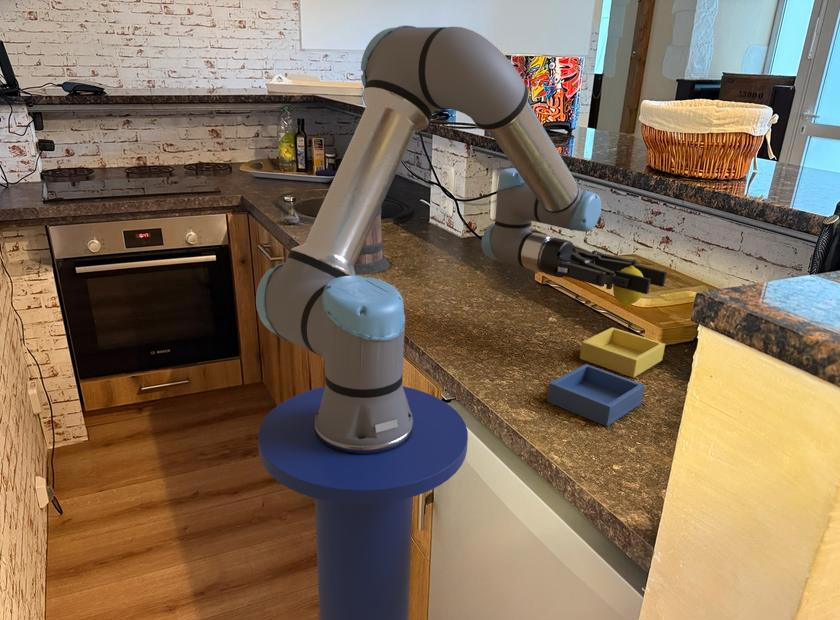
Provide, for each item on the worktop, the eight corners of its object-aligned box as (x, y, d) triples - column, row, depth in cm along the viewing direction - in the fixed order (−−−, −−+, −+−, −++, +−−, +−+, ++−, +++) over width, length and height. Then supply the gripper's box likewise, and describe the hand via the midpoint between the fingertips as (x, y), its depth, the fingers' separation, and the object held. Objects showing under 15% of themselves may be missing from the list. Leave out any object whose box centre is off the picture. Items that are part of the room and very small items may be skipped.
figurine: (282, 225, 224) (281, 207, 222) (284, 222, 228) (283, 204, 226) (299, 225, 225) (298, 207, 222) (299, 222, 229) (299, 204, 226)
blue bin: (546, 401, 116) (549, 382, 115) (582, 381, 124) (585, 363, 123) (606, 426, 109) (610, 407, 108) (641, 403, 117) (645, 385, 115)
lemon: (644, 312, 126) (651, 270, 123) (614, 311, 126) (620, 269, 123) (635, 302, 131) (642, 262, 128) (607, 301, 131) (613, 261, 128)
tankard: (393, 273, 180) (394, 197, 172) (329, 274, 178) (327, 197, 169) (383, 249, 201) (384, 180, 193) (326, 250, 199) (324, 180, 190)
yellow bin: (579, 358, 133) (581, 341, 132) (609, 343, 141) (612, 327, 140) (633, 377, 126) (636, 360, 125) (662, 360, 134) (665, 343, 132)
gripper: (572, 264, 145) (675, 291, 131) (520, 282, 133) (628, 314, 118) (576, 230, 142) (683, 253, 127) (524, 245, 130) (635, 273, 115)
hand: (656, 282), depth 123 cm, fingers closed on lemon, 5 cm apart
